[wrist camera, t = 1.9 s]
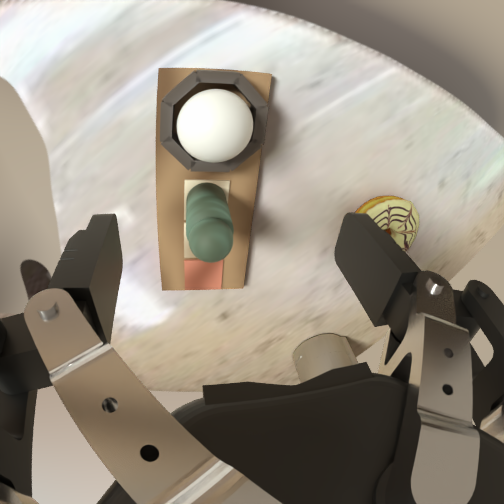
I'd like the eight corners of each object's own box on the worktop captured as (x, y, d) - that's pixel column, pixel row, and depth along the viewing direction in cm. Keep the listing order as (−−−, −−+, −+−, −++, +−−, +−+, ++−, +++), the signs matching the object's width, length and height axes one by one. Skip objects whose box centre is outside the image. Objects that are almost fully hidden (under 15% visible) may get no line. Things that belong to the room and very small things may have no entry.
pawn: (227, 182, 30) (241, 230, 23) (224, 218, 32) (236, 273, 25) (186, 182, 29) (186, 230, 22) (185, 218, 31) (186, 274, 24)
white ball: (249, 88, 24) (265, 96, 19) (242, 151, 28) (255, 175, 23) (179, 84, 23) (177, 91, 18) (176, 149, 26) (174, 173, 21)
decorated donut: (406, 244, 42) (419, 259, 39) (342, 267, 42) (353, 285, 39) (409, 181, 35) (426, 195, 32) (336, 203, 35) (350, 219, 32)
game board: (269, 73, 25) (280, 76, 22) (242, 283, 39) (247, 304, 36) (159, 68, 23) (155, 69, 20) (162, 285, 37) (161, 306, 34)
